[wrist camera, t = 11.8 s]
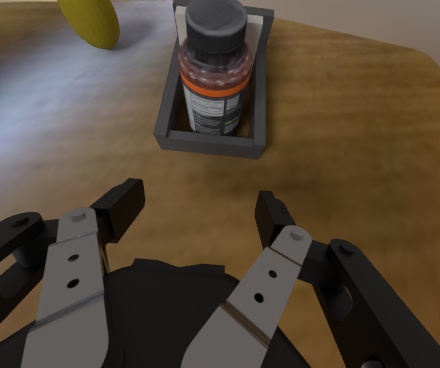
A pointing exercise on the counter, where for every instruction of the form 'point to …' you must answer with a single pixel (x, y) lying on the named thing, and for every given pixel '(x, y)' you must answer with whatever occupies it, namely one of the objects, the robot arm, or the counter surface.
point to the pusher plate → (251, 29)
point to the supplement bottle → (215, 65)
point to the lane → (209, 142)
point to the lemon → (92, 21)
